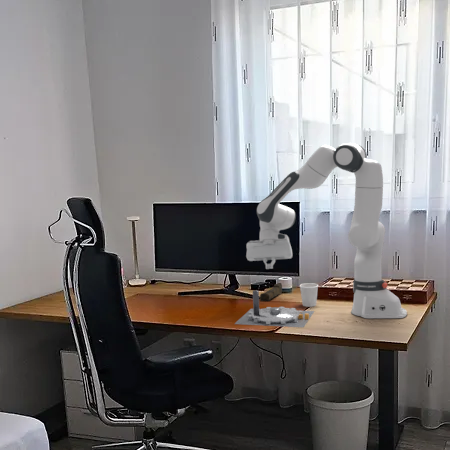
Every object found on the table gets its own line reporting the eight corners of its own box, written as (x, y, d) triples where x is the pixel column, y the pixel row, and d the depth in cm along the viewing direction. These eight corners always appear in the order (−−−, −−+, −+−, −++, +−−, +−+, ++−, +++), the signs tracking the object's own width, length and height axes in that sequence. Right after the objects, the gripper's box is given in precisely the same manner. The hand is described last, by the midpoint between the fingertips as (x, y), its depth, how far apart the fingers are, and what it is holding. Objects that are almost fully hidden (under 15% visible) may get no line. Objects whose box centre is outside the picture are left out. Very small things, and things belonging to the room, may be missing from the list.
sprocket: (293, 308, 253) (293, 282, 252) (311, 321, 231) (310, 293, 230) (242, 312, 249) (241, 286, 248) (255, 326, 227) (254, 297, 226)
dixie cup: (317, 304, 263) (316, 282, 262) (320, 309, 255) (319, 286, 254) (298, 305, 263) (298, 283, 262) (301, 309, 255) (300, 287, 254)
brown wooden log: (269, 303, 270) (268, 291, 269) (259, 302, 272) (259, 290, 271) (287, 293, 290) (287, 282, 289) (278, 292, 292) (278, 281, 291)
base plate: (314, 313, 248) (314, 306, 247) (303, 329, 224) (303, 322, 224) (251, 310, 256) (250, 304, 256) (234, 326, 233) (233, 319, 232)
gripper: (245, 238, 259) (244, 266, 253) (290, 235, 254) (291, 264, 248) (248, 244, 265) (247, 272, 258) (292, 241, 260) (293, 269, 254)
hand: (269, 268), depth 253 cm, fingers closed
